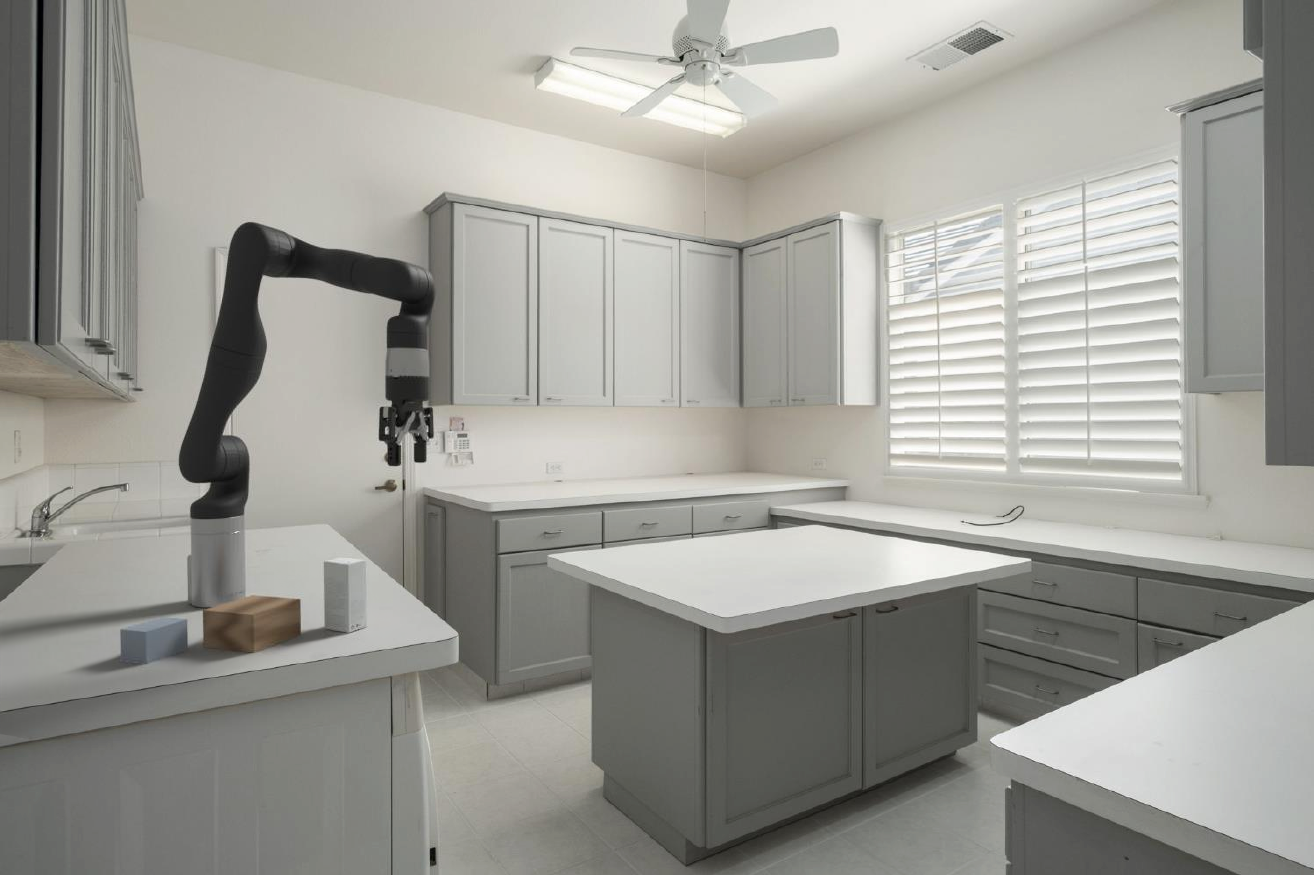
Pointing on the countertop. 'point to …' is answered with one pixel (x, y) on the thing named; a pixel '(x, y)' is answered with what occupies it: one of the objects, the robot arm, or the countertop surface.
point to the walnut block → (251, 623)
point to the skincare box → (345, 594)
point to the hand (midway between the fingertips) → (407, 464)
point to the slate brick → (153, 640)
